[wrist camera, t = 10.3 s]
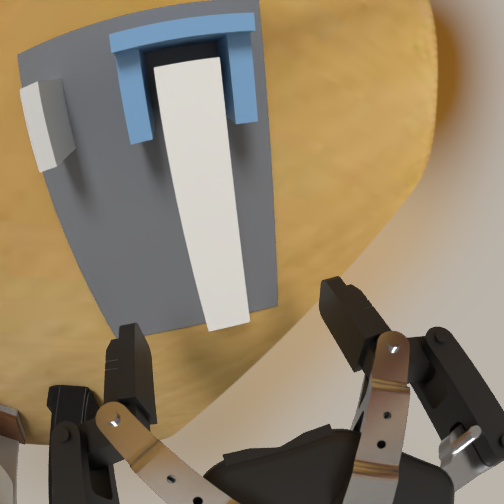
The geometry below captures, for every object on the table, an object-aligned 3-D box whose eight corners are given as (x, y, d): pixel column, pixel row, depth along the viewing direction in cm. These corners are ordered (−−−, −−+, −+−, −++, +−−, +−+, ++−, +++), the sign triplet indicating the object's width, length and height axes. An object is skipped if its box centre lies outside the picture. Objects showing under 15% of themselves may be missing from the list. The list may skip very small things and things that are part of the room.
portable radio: (104, 414, 35) (122, 580, 15) (66, 412, 33) (74, 573, 13) (91, 386, 31) (106, 585, 11) (48, 383, 29) (48, 574, 9)
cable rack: (117, 336, 27) (115, 382, 23) (20, 54, 12) (-21, 55, 8) (276, 302, 30) (296, 344, 25) (256, -1, 15) (286, -21, 10)
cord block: (201, 292, 26) (208, 331, 22) (157, 69, 16) (153, 67, 12) (237, 284, 26) (250, 322, 23) (208, 60, 16) (219, 57, 12)
